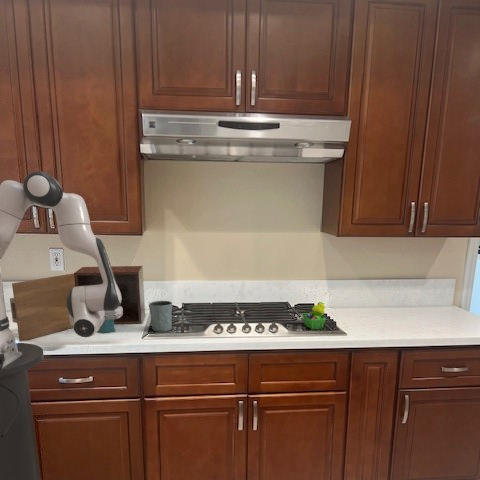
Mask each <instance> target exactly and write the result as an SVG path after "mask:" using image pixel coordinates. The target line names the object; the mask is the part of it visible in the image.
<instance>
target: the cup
mask: <svg viewBox="0 0 480 480" xmlns="http://www.w3.org/2000/svg"><path fill="white" fill-rule="evenodd" d="M114 331H115V325H114V319H105V321H104V322H103V324H102V325H101V327H100V328H99V330H98V333H100V334H108V333H109V334H110V333H114Z"/></svg>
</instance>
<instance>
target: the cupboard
mask: <svg viewBox="0 0 480 480" xmlns="http://www.w3.org/2000/svg"><path fill="white" fill-rule="evenodd" d="M111 268H112V271H113V274H114V277H115V280H116V283H117V286H118V288H119V290H120V293H121V298H122V300H121V304H120V306H121V307H122V308H123V315H122V316H121V317H120V318H118V319H114V326H115V325H116V326H117V325H142V324H143V321H144V318H145V316H146V305H145V304H146V303H145V288H144V287H145V286H144V269H143V265H120V266H119V265H117V266H112V265H111ZM73 274H74V278H75V287H77V286H86V285H87V286H89V285H99V284H102V283H103V280H102V277H101V274H100V270H99V267H98V266H81V267H80V268H79V269H78V270H76V271H75V272H74V273H73Z"/></svg>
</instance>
